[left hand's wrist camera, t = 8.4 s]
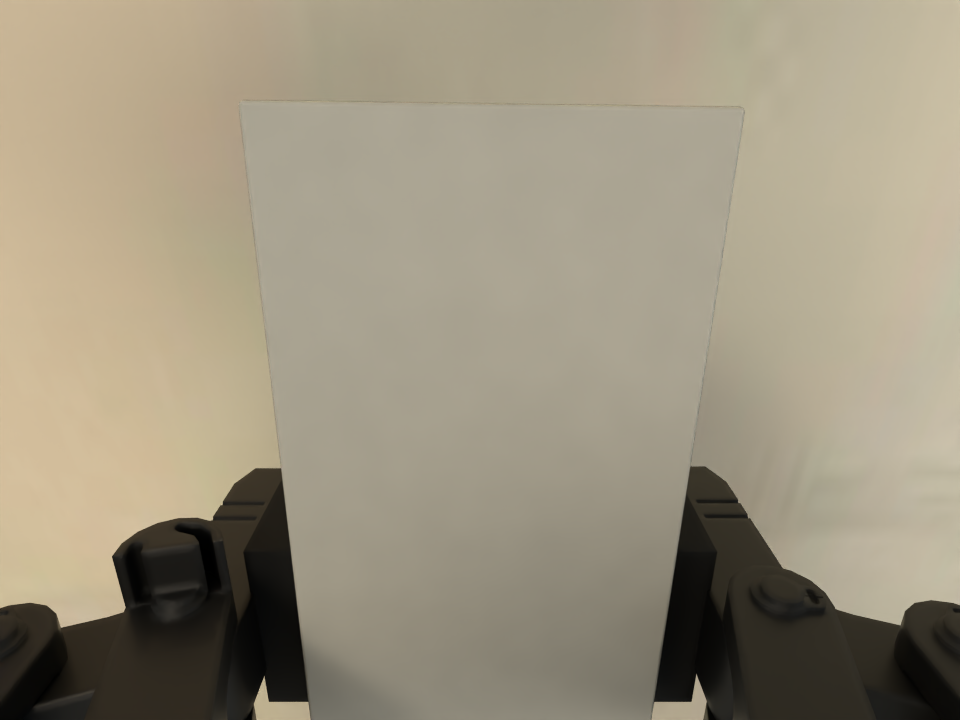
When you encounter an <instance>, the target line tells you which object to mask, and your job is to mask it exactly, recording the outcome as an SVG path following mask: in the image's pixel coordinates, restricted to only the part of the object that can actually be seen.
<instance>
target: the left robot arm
mask: <svg viewBox="0 0 960 720" xmlns="http://www.w3.org/2000/svg"><path fill="white" fill-rule="evenodd" d="M112 558H113V562H114V566H115V569H116V573H117V577H118V580H119V584H120V588H121V592H122V595H123V599H124V603H125V606H126V608H125V611H124V612H123V613H120V614H117V615H113V616H110V617H107V618H102V619H98V620H93V621H89V622H85V623H80V624H76V625H72V626H67V627H63V628H61V627H60V624H59V621H58V618H57V615H56V613H55V612H54V611H52V610H51V609H50V608H49V607H48V606H46V605H40V604H34V603H25V604H17V605H10V606H6V607H3V608H0V720H256V714H255V709H254V702H255V699H256V696H257V694H258V691H259V688H260V686H261V683H262V680H263V678H264V676H265V681H266V687H267V693H268V699H269V702H309V701H308V693H307V684H306V675H305V667H304V658H303V650H302V641H301V633H300V624H299V616H298V607H297V599H296V590H295V582H294V573H293V565H292V556H291V548H290V539H289V531H288V522H287V514H286V505H285V497H284V488H283V480H282V471H281V468H256V469H254V470H253V471H251V472H250V473H249V474H247V475H246V476H245V477H243V478H242V479H240V480H239V481H238V482H236V483H235V484H234V485H233V487H232V489H231V490H230V492H229V493H228V495H227V496H226V498H225V499H224V501H223V505H220V507H219V509H218V510H217V512H216V513H215V515H214V516H213V521H208V520H204V519H200V518H178V519H173V520H169V521H165V522H161V523H157V524H155V525H152V526H150V527H148V528H146V529H143V530H141V531H139V532H137V533H136V534H134V535H133V536H132V537H130V538H129V539H127V540H126V541H125V542H123V543H122V544H121V545H120V547H119V548H118V549H117V551H116V552H115V553H114V555H113V556H112ZM696 674H697V676H698V679H699V681H700V684H701V687H702V689H703V692H704V695H705V697H706V700H707V703H706V709H705V714H704V719H703V720H960V605H957V604H954V603H948V602H940V601H932V600H930V601H924V602H918V603H914V604H913V605H912V606H911V607H910V608H908V609H907V610H906V611H905V613H904V616H903V620H902V623H901V626H900V625H896V624H891V623H887V622H883V621H878V620H874V619H869V618H865V617H861V616H856V615H852V614H849V613H846V612H842V611H839V610H836V609H835V607H834V605H833V604H832V602H831V601H830V599H829V598H828V596H827V595H826V593H825V592H824V591H823V590H821V589H820V588H819V587H818V586H816V585H815V584H814V583H813V582H812V581H810V580H809V579H807V578H805V577H803V576H800V575H798V574H796V573H794V572H792V571H790V570H786V569H783V568H782V567H781V565H780V564H779V562H778V560H777V559H776V557H775V556H774V554H773V553H772V551H771V550H770V548H769V547H768V545H767V544H766V542H765V541H764V539H763V537H762V536H761V534H760V533H759V531H758V530H757V528H756V527H755V525H754V524H753V522H752V521H751V519H750V518H748V514H747V513H746V511H745V510H744V508H743V507H742V505H741V504H740V503H738V499H737V498H736V496H735V495H734V493H733V491H732V490H731V488H730V487H729V485H728V484H727V482H726V481H724V480H723V479H722V478H720V477H719V476H717V475H716V474H715V473H713V472H712V471H711V470H709V469H708V468H706V467H690V471H689V477H688V484H687V490H686V497H685V503H684V510H683V516H682V523H681V529H680V536H679V542H678V549H677V555H676V562H675V568H674V575H673V581H672V588H671V594H670V601H669V607H668V614H667V620H666V627H665V633H664V640H663V646H662V653H661V659H660V666H659V672H658V679H657V685H656V692H655V698H654V702H691V701H692V695H693V690H694V684H695V678H696Z"/></svg>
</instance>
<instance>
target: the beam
mask: <svg viewBox="0 0 960 720" xmlns="http://www.w3.org/2000/svg"><path fill="white" fill-rule="evenodd" d="M744 113H745V112H744V108H742V107H727V106H653V105H580V104H506V103H432V102H358V101H285V100H242V101H240V102H239V114H240V122H241V131H242V139H243V148H244V156H245V165H246V173H247V182H248V190H249V199H250V207H251V216H252V224H253V233H254V241H255V250H256V258H257V267H258V275H259V284H260V293H261V301H262V310H263V318H264V327H265V335H266V344H267V352H268V361H269V369H270V378H271V386H272V395H273V403H274V412H275V420H276V429H277V437H278V446H279V454H280V463H281V471H282V480H283V488H284V497H285V505H286V514H287V522H288V531H289V539H290V548H291V556H292V565H293V573H294V582H295V590H296V599H297V607H298V616H299V624H300V633H301V641H302V650H303V658H304V667H305V675H306V684H307V693H308V701H309V710H310V718H311V720H651V718H652V712H653V705H654V698H655V692H656V685H657V679H658V672H659V666H660V659H661V653H662V646H663V640H664V633H665V627H666V620H667V614H668V607H669V601H670V594H671V588H672V581H673V575H674V568H675V562H676V555H677V549H678V542H679V536H680V529H681V523H682V516H683V510H684V503H685V497H686V490H687V484H688V477H689V471H690V464H691V458H692V451H693V445H694V438H695V432H696V425H697V419H698V412H699V406H700V399H701V393H702V386H703V380H704V373H705V367H706V360H707V354H708V347H709V341H710V334H711V328H712V321H713V315H714V308H715V302H716V295H717V289H718V282H719V276H720V269H721V263H722V256H723V250H724V243H725V237H726V230H727V224H728V217H729V210H730V204H731V197H732V191H733V184H734V178H735V171H736V165H737V158H738V152H739V145H740V139H741V132H742V126H743V119H744Z"/></svg>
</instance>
